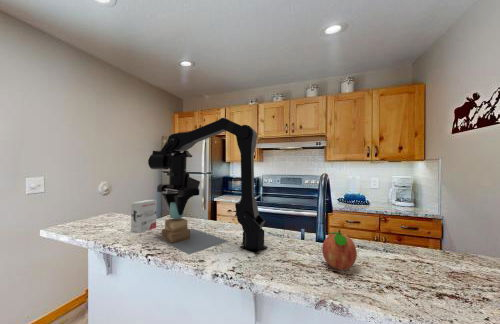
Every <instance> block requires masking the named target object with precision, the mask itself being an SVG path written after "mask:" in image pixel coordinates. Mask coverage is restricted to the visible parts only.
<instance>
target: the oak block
mask: <svg viewBox="0 0 500 324" xmlns="http://www.w3.org/2000/svg"><path fill="white" fill-rule="evenodd" d="M187 228H188V219H187V218H186V219H185V218H183V217H182V218H169V219H165V220H164V229H165V230H168V231H170V232H172V233H174V232H178V231H183V230H187Z"/></svg>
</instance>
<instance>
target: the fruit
mask: <svg viewBox="0 0 500 324" xmlns="http://www.w3.org/2000/svg"><path fill="white" fill-rule="evenodd" d="M337 231H338V232H337ZM337 231H335V232H334V231H333V232H331V231H330V232H329V235H328V236H327V237H326V238H324V241H323V243H322V248H321V249H322V250H321V251H322V256H323V259H324V260H325V261H326V263H327V265H329V267H332V268H333V269H336V270H340V271H341V270H343V271H345V270H348V269H350V268H352V267H353V266H354V265H355V262H356V259H357V256H358V253H357V248H356V244H355V243H354V240H352V239H351V238H350V236H347V235H346V234H343V233H342V232H341V229H338V230H337Z"/></svg>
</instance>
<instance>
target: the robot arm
mask: <svg viewBox="0 0 500 324" xmlns="http://www.w3.org/2000/svg"><path fill="white" fill-rule="evenodd" d="M225 132H228V133H230V134H232V135H233V136H235V138H236V143H237V147H238V150H239V154H240V190H241V191H240V193H241V194H240V195H241V197H240V200H239V201H237V202H235V204H234V205H235V207H234V208H235V215H234V217H236V220H237V222H238V223H239V224H240V225H241V227H242V228H241V229H242V230H243V232H242V245H241V246H239V248H240V249H243V250H245V251H247V252H250V253H253V254H257V253H260V252H262V251H264V250H266V249H268V246H267V245H265V230H264V229H263V227H264V225H265V223H266V220H265V219H264V218H263V217H262V216H261V214H259V208H258V203H257V200H256V196H255V169H254V167H255V164H254V163H255V161H254V158H255V157H254V155H255V150H256V147H257V141H258V133H257V131H256V130H255V129H254V128H253V127H251V126H250V125H249V124H242V125H241V124H238V123H237V122H234V121H232V120H230V119H228V118H227V117H221V118H219V119H218V120H215V121H213V122H210V123H208V124H205V125H203V126H201V127H198V128H194V129H193V130H191V131H182V132H176V133H171V134H170V135H169V136H168V138H167V141H166V143H165V144H164V145H163V146H162V148H161V149H160V150H152V154H151V155H150V156H149V158H148V159H147V163H148V166H149V168H150V169H151V170H164V171H165V170H166V171H167V170H169V171H168V172H166V177H167V176H169V177H168V183H159V184H158V185H157V186H156V187H157V188H156V189H157V190H156V192H158V193H161V195H162V196H163V198H164V200H165V202H166V204H167V206H168V208H169V210H170V203H171V202H176V206H177V210H178V214H179V215H182V214H183V211H184V210H185V208H186V205H187V203H188V201H189V199H191V198H193V197H196V196H200V188H199V187H200V184H201V181H200V180H197V179H195V178H193V177H191V176H190V173H189V172H187V162H188V161H187V160H188V159H187V158H193V155H192V154H191V153H190V152H189V149H191V148H193V147H194V146H195V144H197V143H199V142H202V141H204V140H207V139H210V138H212V137H214V136H217V135H219V134H222V133H225Z"/></svg>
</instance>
